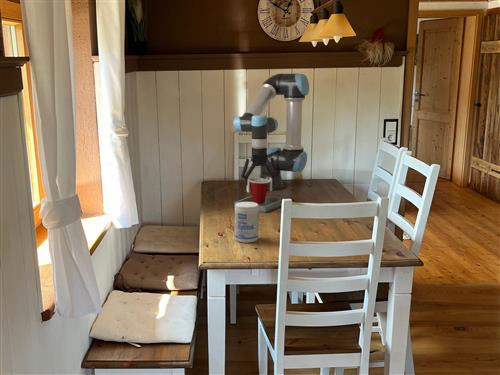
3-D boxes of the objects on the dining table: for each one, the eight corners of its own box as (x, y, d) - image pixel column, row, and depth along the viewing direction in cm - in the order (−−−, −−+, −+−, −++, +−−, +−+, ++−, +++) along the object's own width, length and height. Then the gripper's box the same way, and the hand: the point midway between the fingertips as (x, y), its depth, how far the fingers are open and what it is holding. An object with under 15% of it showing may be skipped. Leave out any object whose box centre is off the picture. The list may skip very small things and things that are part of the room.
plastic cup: (268, 205, 262) (268, 181, 260) (246, 204, 265) (246, 181, 262) (271, 200, 273) (271, 177, 270) (250, 199, 275) (250, 176, 272)
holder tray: (253, 200, 281) (253, 195, 281) (283, 205, 272) (283, 199, 271) (234, 208, 267) (234, 202, 266) (265, 213, 257) (265, 206, 256)
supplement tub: (236, 244, 212) (236, 207, 208) (232, 236, 221) (232, 202, 218) (260, 242, 213) (260, 206, 210) (256, 235, 223) (255, 200, 219)
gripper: (280, 145, 269) (280, 188, 273) (234, 146, 264) (234, 190, 269) (284, 147, 261) (284, 191, 266) (237, 149, 257) (237, 194, 262)
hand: (259, 191), depth 267 cm, fingers closed on plastic cup, 11 cm apart
